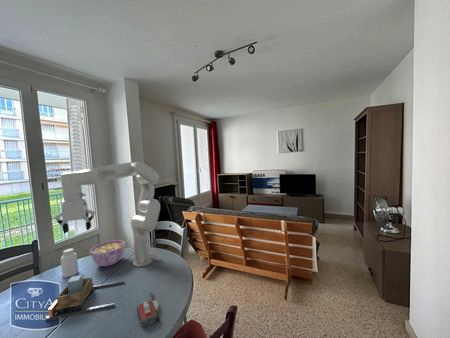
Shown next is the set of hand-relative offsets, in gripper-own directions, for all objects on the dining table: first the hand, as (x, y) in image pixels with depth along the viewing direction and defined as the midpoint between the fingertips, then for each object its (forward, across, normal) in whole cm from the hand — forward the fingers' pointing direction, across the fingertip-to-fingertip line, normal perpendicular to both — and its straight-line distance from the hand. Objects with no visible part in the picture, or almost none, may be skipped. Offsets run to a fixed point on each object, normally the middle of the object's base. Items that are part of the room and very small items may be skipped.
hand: (77, 230), depth 101 cm
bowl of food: (+34, -3, -31) cm, 46 cm away
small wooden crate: (+34, +2, +5) cm, 34 cm away
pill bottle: (+34, +17, -25) cm, 46 cm away
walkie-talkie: (+34, -33, +22) cm, 53 cm away
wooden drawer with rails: (+34, -4, +5) cm, 34 cm away
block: (+30, +2, +5) cm, 30 cm away
